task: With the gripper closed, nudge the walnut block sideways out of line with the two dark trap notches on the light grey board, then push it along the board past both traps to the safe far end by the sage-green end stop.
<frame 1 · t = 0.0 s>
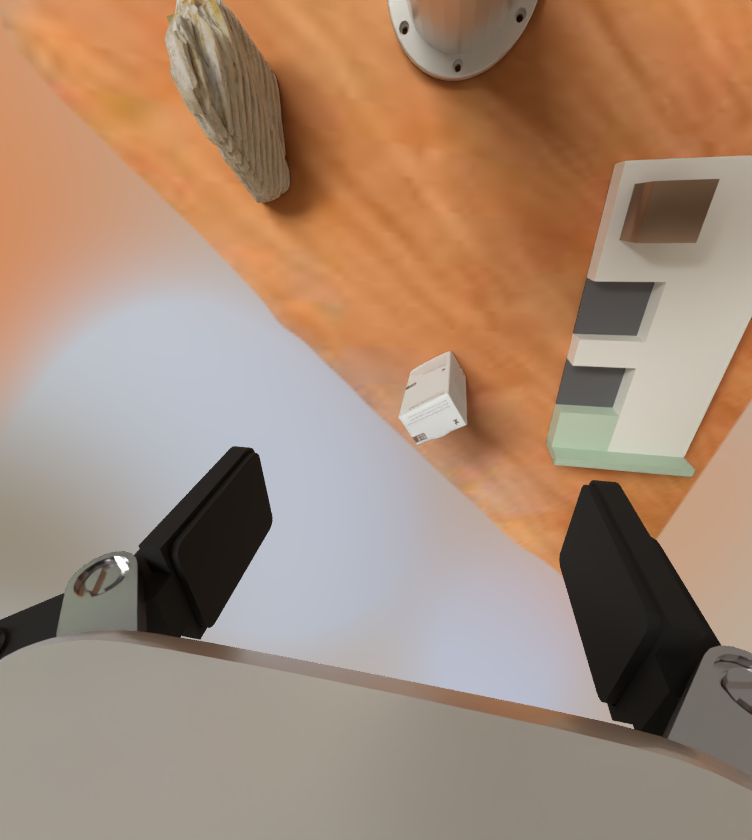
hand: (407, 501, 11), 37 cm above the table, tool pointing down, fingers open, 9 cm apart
fossil tooth: (258, 121, 38), on the table
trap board: (648, 326, 40), on the table
skincare box: (437, 374, 48), on the table
walnut block: (653, 212, 33), point 2 cm above the table, touching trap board
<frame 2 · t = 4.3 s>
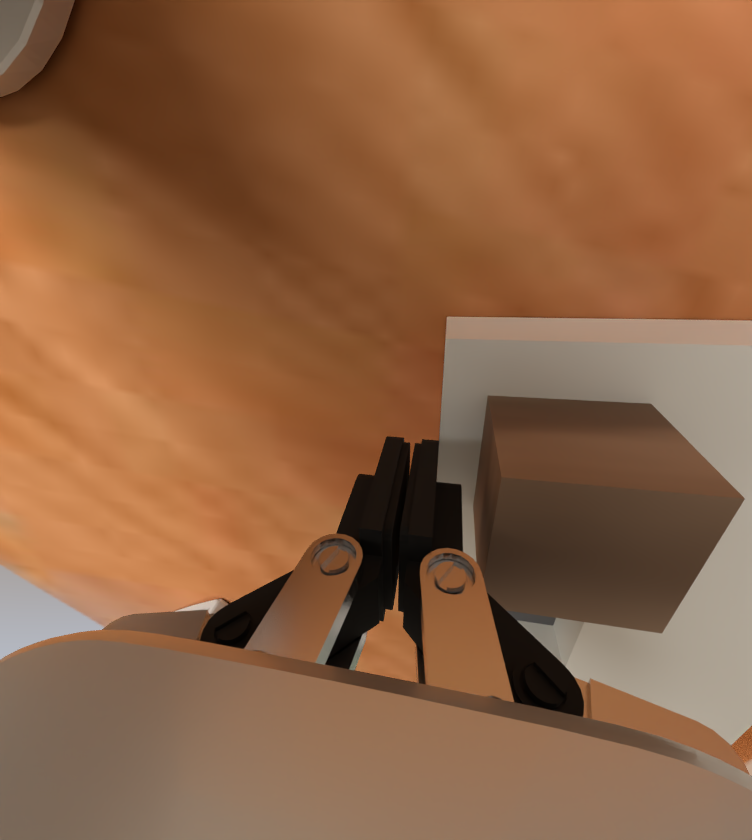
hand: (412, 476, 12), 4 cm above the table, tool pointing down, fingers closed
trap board: (576, 611, 19), on the table
skincare box: (216, 620, 26), on the table
walnut block: (550, 461, 12), point 3 cm above the table, touching gripper
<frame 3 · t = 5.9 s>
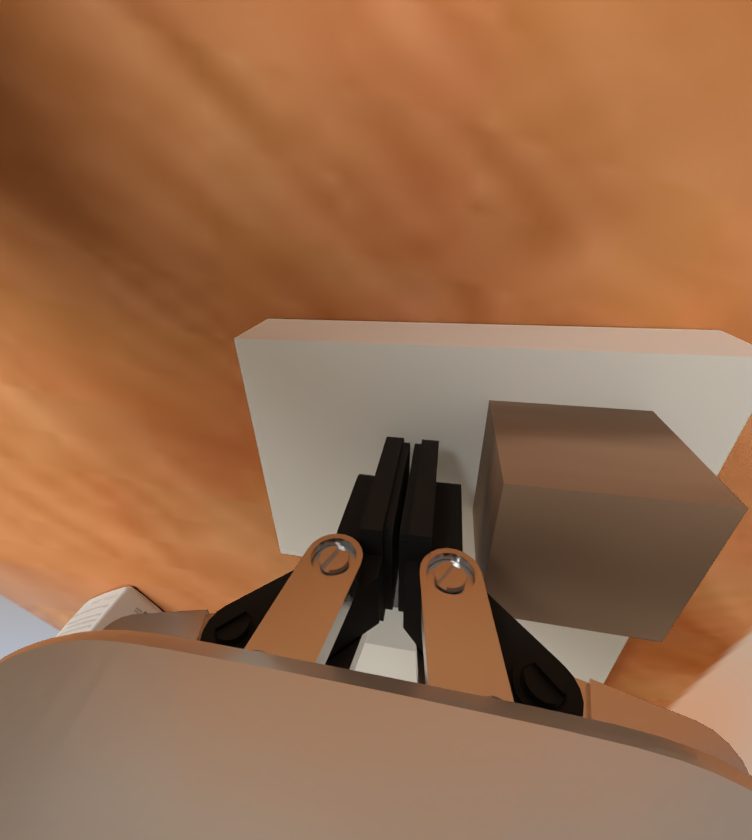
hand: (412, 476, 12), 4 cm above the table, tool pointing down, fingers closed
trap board: (442, 598, 20), on the table
skincare box: (132, 607, 28), on the table
walnut block: (551, 466, 12), point 2 cm above the table, touching gripper, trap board
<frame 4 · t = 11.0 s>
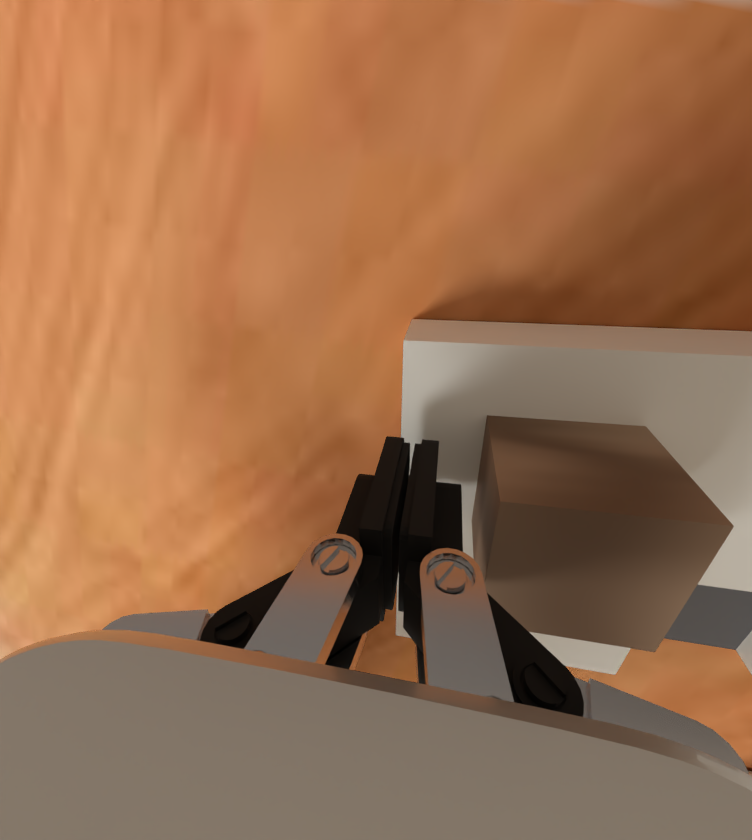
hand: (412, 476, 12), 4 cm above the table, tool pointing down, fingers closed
walnut block: (548, 479, 12), point 2 cm above the table, touching gripper, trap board
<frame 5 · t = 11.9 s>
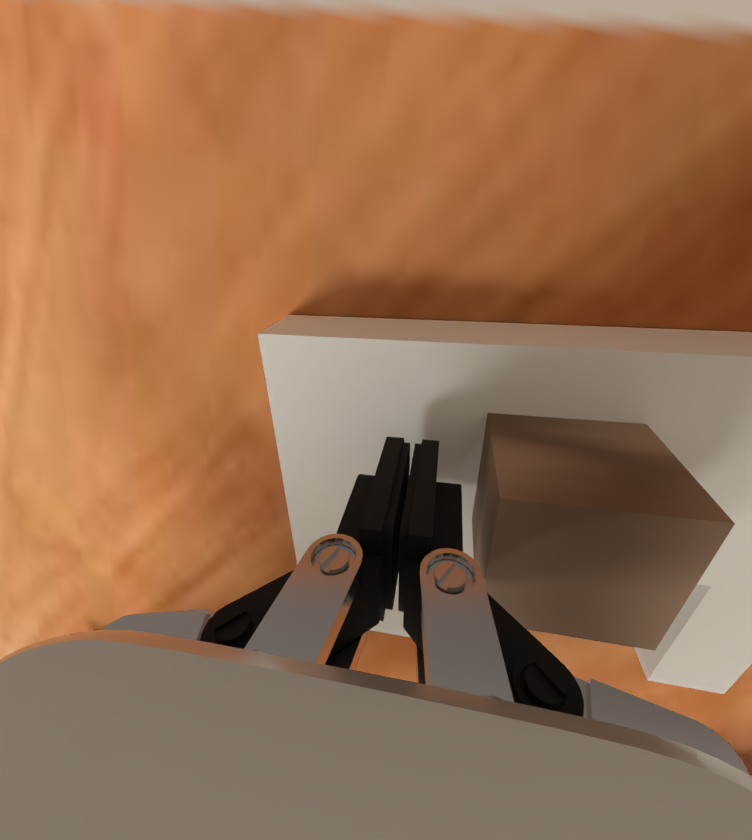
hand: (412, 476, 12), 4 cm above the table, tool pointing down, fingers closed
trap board: (658, 513, 15), on the table
walnut block: (548, 477, 12), point 3 cm above the table, touching gripper
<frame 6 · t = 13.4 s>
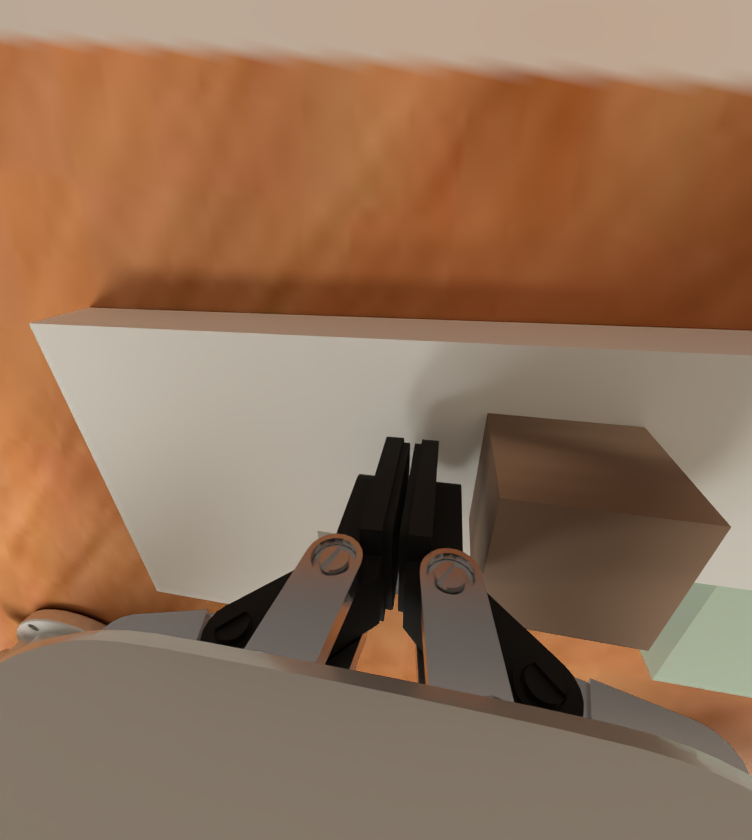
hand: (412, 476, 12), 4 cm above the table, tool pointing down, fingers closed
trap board: (439, 488, 16), on the table
walnut block: (546, 478, 12), point 3 cm above the table, touching gripper
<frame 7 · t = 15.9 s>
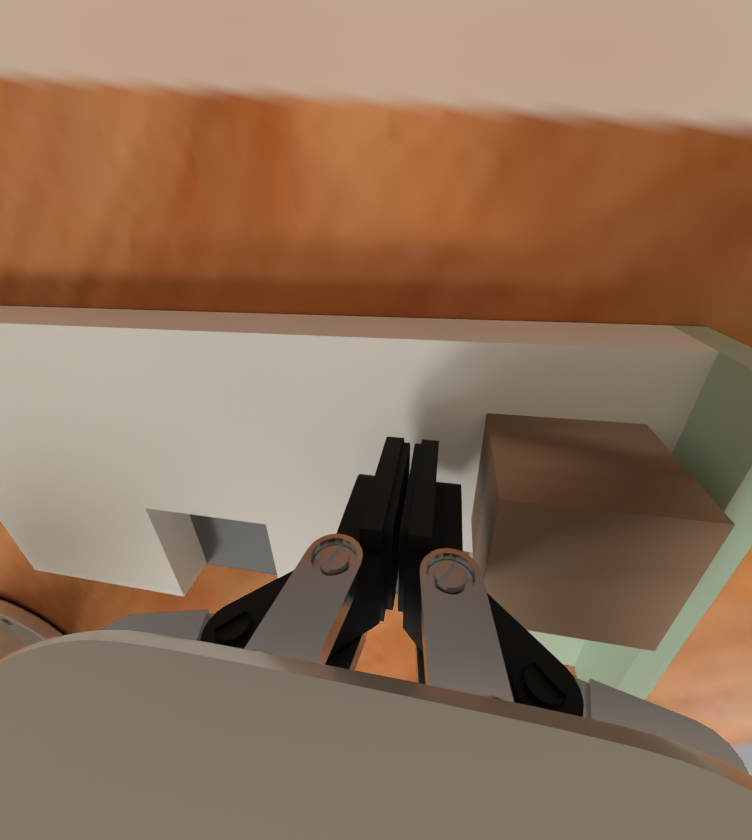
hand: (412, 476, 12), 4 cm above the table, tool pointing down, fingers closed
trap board: (265, 469, 18), on the table
walnut block: (548, 477, 12), point 2 cm above the table, touching gripper, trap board
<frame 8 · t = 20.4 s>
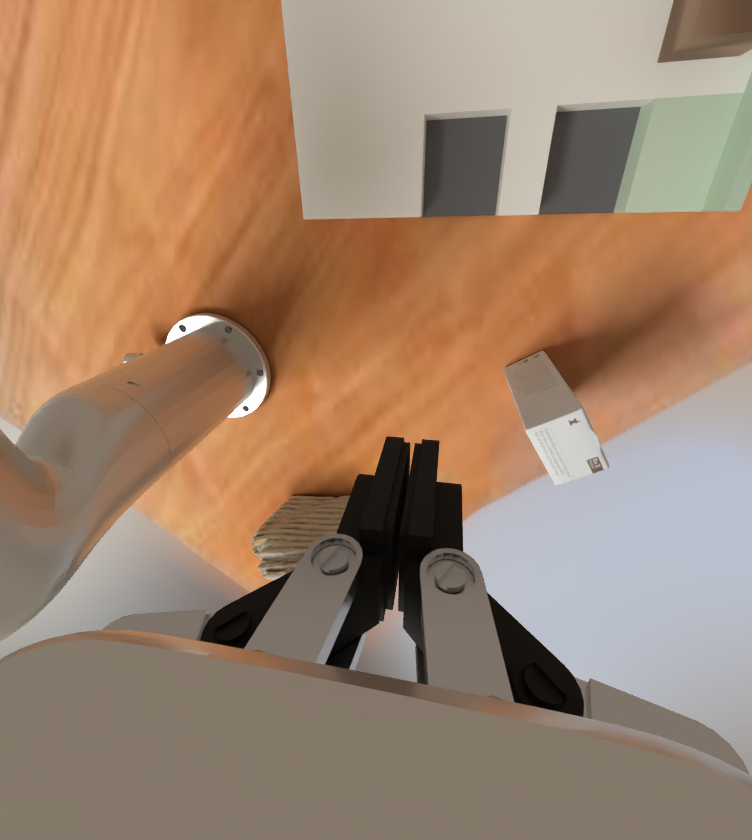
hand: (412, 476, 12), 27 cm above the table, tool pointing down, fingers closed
fossil tooth: (319, 508, 52), on the table
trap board: (495, 99, 27), on the table
skincare box: (535, 382, 37), on the table
walnut block: (713, 8, 22), point 2 cm above the table, touching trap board
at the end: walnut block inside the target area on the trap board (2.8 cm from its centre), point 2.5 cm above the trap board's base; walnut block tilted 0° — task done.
